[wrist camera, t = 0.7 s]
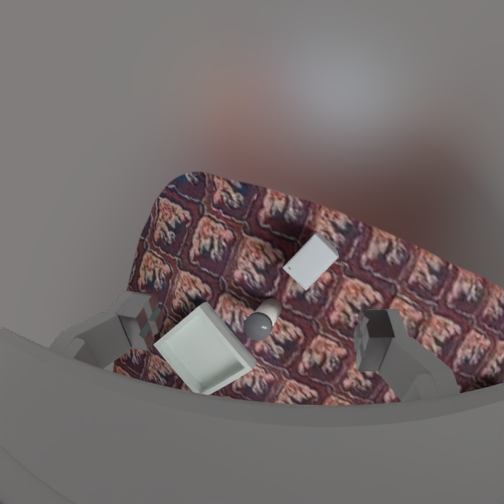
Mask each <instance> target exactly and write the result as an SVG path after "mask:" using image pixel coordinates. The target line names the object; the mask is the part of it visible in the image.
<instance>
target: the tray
mask: <svg viewBox="0 0 504 504" xmlns="http://www.w3.org/2000/svg"><path fill="white" fill-rule="evenodd" d="M154 346H155V347H156V348H157V350H158V351H159V352H160V353H161V355H162V356H163V357H164V358H165V360H166V361H167V362H168V363H169V365H170V366H171V367H172V368H173V369H174V371H175V372H176V373H177V374H178V375H179V376H180V378H181V379H182V380H183V381H184V382H185V383H186V384H187V386H188V387H189V388H190V389H191V390H192V391H193V392H195V393H201V394H206V395H210V394H211V393H213V392H215V391H217V390H219V389H220V388H222V387H224V386H226V385H227V384H229V383H231V382H232V381H234V380H236V379H238V378H239V377H241V376H243V375H244V374H246V373H248V372H249V371H251V370H252V369H253V368H254V366H255V364H256V363H257V360H256V359H255V358H254V357H253V356H252V355H251V354H250V352H249V351H248V350H247V349H246V348H245V347H244V345H243V344H242V343H241V342H240V341H239V340H238V338H237V337H236V336H235V335H234V334H233V333H232V331H231V330H230V329H229V328H228V327H227V325H226V324H225V323H224V322H223V320H222V319H221V318H220V317H219V316H218V314H217V313H216V312H215V311H214V309H213V308H212V307H211V306H210V305H209V303H208V302H207V301H206V302H204V303H203V304H201V305H200V306H198V307H197V308H196V309H195V310H194V311H192V312H191V313H190V314H189V315H188V316H187V317H185V318H184V319H183V320H182V321H181V322H180V323H178V324H177V325H176V326H175V327H174V328H173V329H171V330H170V331H169V332H168V333H167V334H166V335H164V336H163V337H162V338H161V339H160V340H158V341H157V342H156V343H155V344H154Z"/></svg>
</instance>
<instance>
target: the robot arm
mask: <svg viewBox="0 0 504 504" xmlns="http://www.w3.org/2000/svg"><path fill="white" fill-rule="evenodd" d="M158 304H159V302H158V299H157V297H156V296H155V295H150V294H144V293H137V292H130V291H124V292H122V294H121V295H120V296H119V297H118V298H117V300H116V301H115V302H114V303H113V304H112V305H111V307H110V308H109V309H108V310H107V312H106V313H105V312H102V313H100V314H98V315H96V316H94V317H92V318H90V319H88V320H85V321H83V322H81V323H79V324H77V325H75V326H73V327H71V328H69V329H67V330H65V331H63V332H61V333H60V335H59V336H58V337H57V338H56V339H55V341H54V342H53V343H52V344H51V346H50V347H49V348H46V347H44V346H42V345H40V344H37V343H35V342H33V341H31V340H29V339H27V338H25V337H23V336H20V335H18V334H16V333H14V332H13V331H11V330H9V329H7V328H5V327H0V504H504V383H501V384H497V385H494V386H490V387H486V388H482V389H478V390H473V391H469V392H464V393H460V391H459V388H458V385H457V382H456V379H455V377H454V374H453V371H452V369H450V368H449V367H448V366H447V365H445V364H444V363H443V362H442V361H441V360H439V359H438V358H437V357H436V356H434V355H433V354H432V353H431V352H430V351H428V350H427V349H426V348H425V347H423V346H422V345H421V344H420V343H418V342H417V341H416V340H415V339H413V338H412V337H408V334H407V331H406V329H405V326H404V323H403V320H402V318H401V315H400V313H399V310H397V309H385V310H361V311H360V313H359V316H358V319H359V324H358V325H357V326H356V328H355V332H354V350H355V351H357V356H356V364H357V371H378V373H379V374H380V375H381V377H382V378H383V379H384V380H385V381H386V383H387V384H388V385H389V386H390V388H391V389H392V390H393V391H394V393H395V394H396V395H397V396H398V398H399V399H400V400H401V402H397V403H385V404H369V405H296V404H280V403H267V402H257V401H248V400H240V399H232V398H225V397H218V396H212V395H206V394H201V393H195V392H190V391H185V390H180V389H175V388H171V387H166V386H162V385H158V384H154V383H150V382H146V381H142V380H138V379H135V378H131V377H128V376H124V375H121V374H117V373H114V372H111V371H108V370H105V369H104V368H105V367H106V366H108V365H109V364H110V363H112V362H113V361H115V360H116V359H117V358H119V357H120V356H122V355H123V354H124V353H126V352H127V351H129V350H130V349H131V347H132V348H137V349H142V350H147V351H148V350H149V349H150V347H151V345H152V343H153V342H154V335H155V334H157V333H159V331H160V329H161V327H162V322H163V318H162V313H161V311H160V310H159V309H158V308H157V306H158Z"/></svg>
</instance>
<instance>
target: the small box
mask: <svg viewBox="0 0 504 504" xmlns="http://www.w3.org/2000/svg"><path fill="white" fill-rule="evenodd" d="M338 257H339V256H338V252H337V250H336V249H335V248H334V247H333V246H332V245H331V244H330V243H329V242H328V241H327V240H326V239H325V238H324V237H323V236H322V235H321V234H320V233H319V232H316V233H315V234H314V235H313V236H312V237H311V238H310V239H309V240H308V241H307V242H306V244H305V245H304V246H303V247H302V248H301V249H300V250H299V251H298V252H297V253H296V254H295V255H294V256H293V257H292V258H291V259H290V260H289V261H288V263H287V264H286V265H285V266H284V267H283V269H284V270H285V271H286V272H287V273H288V274H289V275H290V276H291V277H292V278H294V279H295V280H296V281H297V282H298V283H299V284H300V285H301V286H302V287H303V288H304V289H305V290H307V289H308V288H309V287H310V286H311V285H312V284H313V283H314V282H315V281H316V280H317V279H318V278H319V277H320V276H321V275H322V274H323V273H324V272H325V271H326V270H327V269H328V268H329V267H330V266H331V265H332V264H333V263H334V262H335V261H336V260H337V259H338Z"/></svg>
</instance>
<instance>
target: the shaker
mask: <svg viewBox="0 0 504 504" xmlns="http://www.w3.org/2000/svg"><path fill="white" fill-rule="evenodd" d="M281 311H282V307H281V304H280V302H279V301H278V300H276V299H274V298H268V299H266V300H264V301H263V303H262V304H261V305H260V306H259V307H258V308H257V309H256V311H255V312H254V313H252V314H251V315H250V316H249V317H248V318H247V319H246V320H245V322H244V331H245V333H246V334H247V336H248V337H250V338H251V339H253V340H264V339H265V338H267V337H268V336H269V334H270V332H271V330H272V327H273V325H274V323H275V322H276V320H277V318H278V317H279V315H280V313H281Z"/></svg>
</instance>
